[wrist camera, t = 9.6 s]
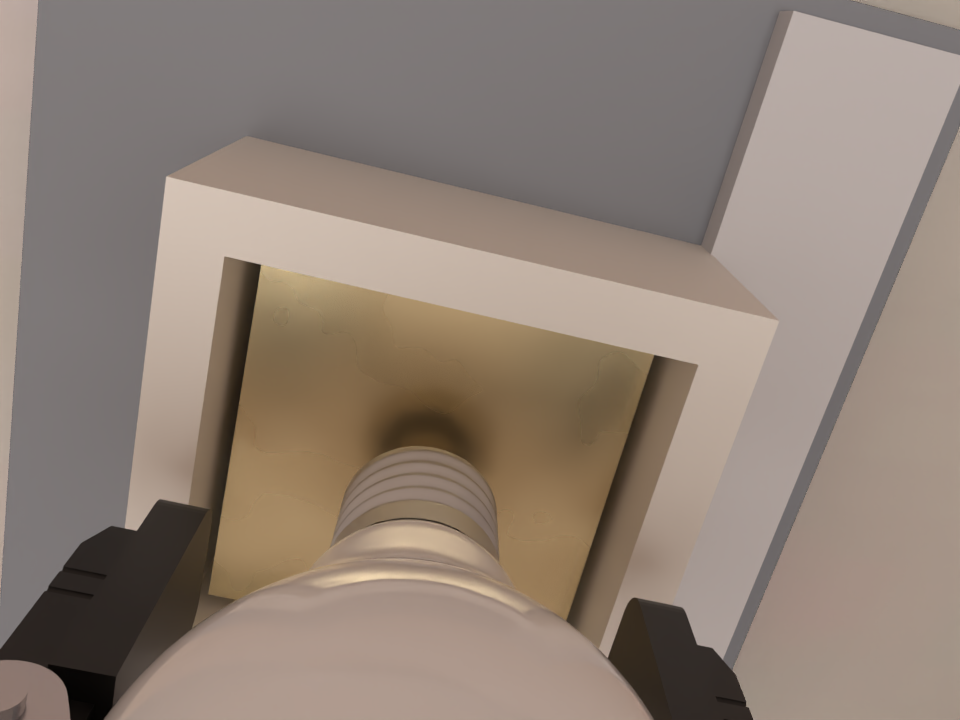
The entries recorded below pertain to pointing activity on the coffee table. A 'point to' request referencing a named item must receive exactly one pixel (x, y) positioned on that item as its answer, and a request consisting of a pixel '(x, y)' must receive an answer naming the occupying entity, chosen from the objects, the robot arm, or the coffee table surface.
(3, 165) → the coffee table surface
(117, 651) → the robot arm
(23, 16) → the coffee table surface
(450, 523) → the lightbulb
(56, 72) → the socket board
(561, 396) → the socket plunger
